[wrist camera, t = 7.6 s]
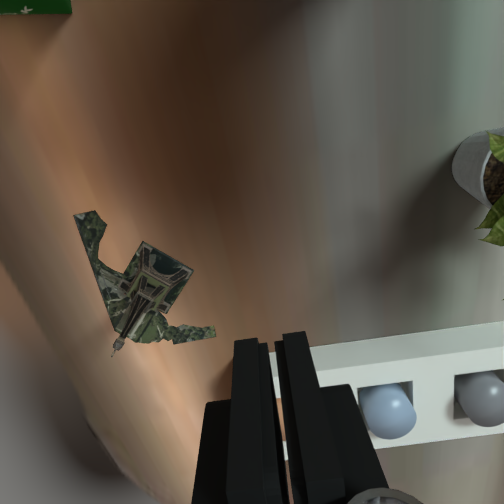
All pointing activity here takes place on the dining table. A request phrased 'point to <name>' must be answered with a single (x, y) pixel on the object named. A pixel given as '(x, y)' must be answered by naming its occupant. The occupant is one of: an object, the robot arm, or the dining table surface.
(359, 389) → the white button panel
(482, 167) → the house plant
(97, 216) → the eiffel tower figurine
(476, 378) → the charcoal button
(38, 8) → the milk carton
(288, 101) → the dining table surface
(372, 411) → the slate blue button
